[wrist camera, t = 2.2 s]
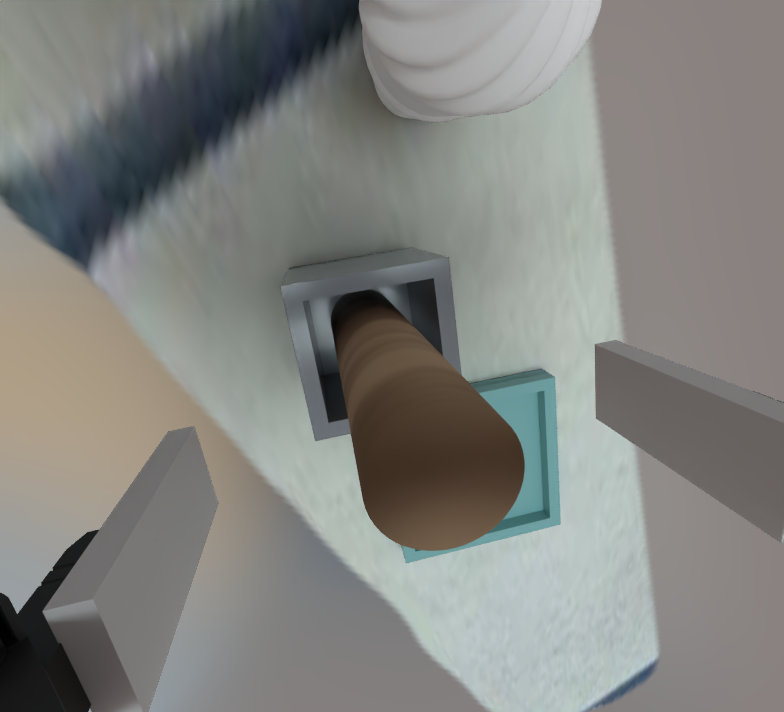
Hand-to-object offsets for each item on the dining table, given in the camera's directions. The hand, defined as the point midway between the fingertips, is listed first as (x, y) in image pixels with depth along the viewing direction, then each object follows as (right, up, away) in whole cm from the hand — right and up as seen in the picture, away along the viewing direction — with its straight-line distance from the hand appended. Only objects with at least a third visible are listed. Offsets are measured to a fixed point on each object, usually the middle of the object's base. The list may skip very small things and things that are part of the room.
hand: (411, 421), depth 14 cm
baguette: (-2, +4, +13) cm, 14 cm away
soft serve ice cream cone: (0, +18, +11) cm, 21 cm away
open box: (-3, +4, +14) cm, 15 cm away
